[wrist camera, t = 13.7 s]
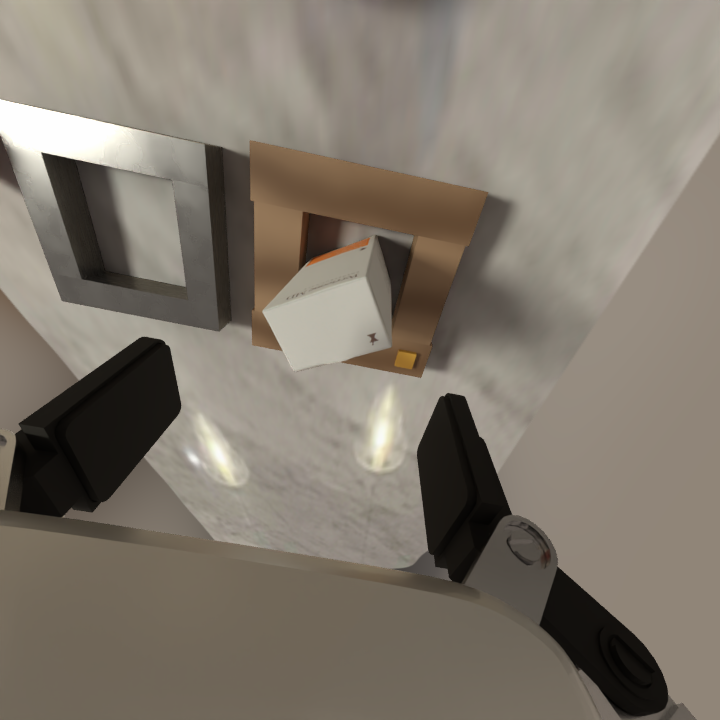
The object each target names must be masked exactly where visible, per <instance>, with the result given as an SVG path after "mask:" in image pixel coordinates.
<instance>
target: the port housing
mask: <svg viewBox="0 0 720 720" xmlns="http://www.w3.org/2000/svg"><path fill="white" fill-rule="evenodd" d="M487 195H488V192H484V191H480V190H475V189H471V188H466V187H461V186H457V185H452V184H448V183H443V182H439V181H434V180H429V179H425V178H420V177H416V176H411V175H407V174H402V173H397V172H393V171H388V170H384V169H379V168H375V167H370V166H365V165H361V164H356V163H352V162H347V161H342V160H338V159H333V158H329V157H324V156H320V155H315V154H310V153H306V152H301V151H297V150H292V149H288V148H283V147H278V146H274V145H269V144H265V143H260V142H256V141H251V140H250V200H251V201H254V281H255V308H254V309H253V310H252V345H255V346H260V347H265V348H270V349H275V350H280V351H283V350H282V348H281V346H280V345H279V343H278V341H277V339H276V337H275V335H274V333H273V331H272V329H271V327H270V325H269V323H268V321H267V320H266V318H265V316H264V314H263V312H262V311H263V309H264V308H265V307H266V306H267V305H268V304H269V303H270V302H271V301H272V300H273V299H274V298H275V297H276V296H277V294H278V293H279V292H280V291H281V290H282V289H283V288H284V287H285V286H286V285H287V284H288V283H289V282H290V281H291V279H292V278H293V277H294V276H295V275H296V274H297V273H298V272H299V271H300V270H301V269H302V268H303V267H304V266H305V263H306V251H307V239H308V227H309V216H310V213H313V214H317V215H322V216H327V217H332V218H336V219H341V220H346V221H350V222H355V223H360V224H365V225H369V226H374V227H379V228H384V229H388V230H393V231H398V232H403V233H407V234H412V235H414V238H413V242H412V246H411V250H410V254H409V257H408V261H407V265H406V269H405V273H404V276H403V280H402V284H401V288H400V291H399V295H398V299H397V303H396V307H395V310H394V314H393V318H392V347H391V348H388V349H384V350H380V351H376V352H372V353H368V354H365V355H361V356H357V357H354V358H351V359H349V360H346V361H342V363H348V364H353V365H358V366H363V367H368V368H373V369H378V370H384V371H389V372H394V373H399V374H404V375H409V376H415V377H420V378H421V377H422V374H423V371H424V368H425V366H426V363H427V360H428V357H429V355H430V352H431V349H432V342H431V341H432V338H433V335H434V332H435V330H436V327H437V324H438V321H439V318H440V316H441V313H442V310H443V307H444V304H445V302H446V299H447V296H448V293H449V290H450V288H451V285H452V282H453V279H454V276H455V274H456V271H457V268H458V265H459V262H460V260H461V257H462V254H463V251H464V248H465V246H469V244H470V242H471V239H472V236H473V233H474V231H475V228H476V225H477V222H478V220H479V217H480V214H481V211H482V208H483V206H484V203H485V200H486V197H487Z"/></svg>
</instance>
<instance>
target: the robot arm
mask: <svg viewBox="0 0 720 720" xmlns="http://www.w3.org/2000/svg"><path fill="white" fill-rule="evenodd" d="M180 410H181V401H180V396H179V391H178V386H177V381H176V376H175V371H174V366H173V361H172V356H171V351H170V347H169V346H167V345H166V344H165V342H164V341H163V340H160V339H154V338H149V337H141V338H139V339H138V340H136V341H135V342H133V343H132V344H130V345H129V346H128V347H126V348H125V349H123V350H122V351H121V352H119V353H118V354H116V355H115V356H114V357H112V358H111V359H109V360H108V361H106V362H105V363H104V364H102V365H101V366H99V367H98V368H97V369H95V370H94V371H92V372H91V373H89V374H88V375H87V376H85V377H84V378H82V379H81V380H80V381H78V382H77V383H75V384H74V385H73V386H71V387H70V388H68V389H67V390H65V391H64V392H63V393H62V394H60V395H59V396H57V397H56V398H54V399H53V400H51V401H50V402H49V403H47V404H46V405H44V406H43V407H41V408H40V409H39V410H37V411H36V412H34V413H33V414H32V415H30V416H29V417H28V418H26V419H24V420H23V421H22V422H20V423H19V425H20V427H21V430H20V431H19V432H17V433H16V434H13V433H12V432H11V431H9V430H5V429H0V720H696V719H695V717H694V716H693V715H692V714H691V713H690V711H689V710H688V709H687V708H686V707H685V705H684V704H683V703H680V704H675V702H674V701H673V700H672V699H671V698H670V696H669V695H668V690H667V685H666V683H665V680H664V676H663V674H662V672H661V670H660V668H659V666H658V664H657V663H656V661H655V659H654V657H653V656H652V655H651V653H650V652H649V651H648V649H647V648H646V647H645V646H644V644H643V643H642V642H641V641H640V640H639V639H638V638H637V637H636V636H635V635H634V634H633V633H632V632H631V631H629V630H628V629H627V628H626V627H625V626H624V625H623V624H622V623H621V622H619V621H618V620H617V619H616V618H615V617H614V616H612V615H611V614H610V613H609V612H608V611H607V610H606V609H605V608H604V607H603V606H601V605H600V604H599V603H598V602H597V601H596V600H595V599H594V598H592V597H591V596H590V595H589V594H588V593H587V592H586V591H584V590H583V589H582V588H581V587H580V586H579V585H578V584H577V583H575V582H574V581H573V580H572V579H571V578H570V577H569V576H568V575H566V574H565V573H564V572H563V571H562V570H561V569H560V568H558V567H557V565H558V558H557V554H556V550H555V548H554V546H553V544H552V543H551V541H550V539H549V538H548V537H547V535H546V534H545V533H544V532H543V531H542V530H541V529H540V528H539V527H538V526H537V525H536V524H534V523H533V522H531V521H530V520H528V519H526V518H523V517H521V516H518V515H512V513H511V511H510V508H509V505H508V503H507V500H506V497H505V495H504V492H503V489H502V486H501V484H500V481H499V479H498V476H497V473H496V470H495V467H494V465H493V462H492V459H491V457H490V454H489V451H488V449H487V446H486V443H485V441H484V439H482V438H481V437H479V434H478V432H477V429H476V426H475V423H474V420H473V418H472V415H471V412H470V409H469V406H468V404H467V401H466V398H465V397H464V396H461V395H456V394H451V393H447V394H446V395H445V397H444V396H441V397H440V398H439V400H438V402H437V405H436V407H435V409H434V412H433V414H432V416H431V419H430V421H429V423H428V425H427V428H426V430H425V432H424V435H423V437H422V439H421V442H420V444H419V446H418V450H417V459H418V468H419V476H420V484H421V493H422V501H423V510H424V518H425V527H426V535H427V543H428V550H429V553H430V554H431V555H434V559H435V566H436V567H440V568H446V569H448V574H449V578H450V579H451V580H452V581H448V580H444V579H439V578H435V577H430V576H426V575H420V574H415V573H409V572H404V571H398V570H393V569H387V568H382V567H376V566H370V565H364V564H358V563H352V562H346V561H340V560H333V559H327V558H321V557H315V556H309V555H303V554H296V553H290V552H284V551H278V550H271V549H265V548H259V547H252V546H246V545H240V544H233V543H227V542H220V541H214V540H208V539H201V538H194V537H188V536H182V535H176V534H169V533H162V532H156V531H148V530H143V529H136V528H129V527H122V526H116V525H110V524H103V523H96V522H89V521H83V520H76V519H69V518H64V515H65V513H67V511H68V510H69V509H70V508H71V507H72V508H73V509H74V510H80V511H86V512H93V511H94V510H95V509H96V508H97V506H98V505H99V504H100V503H101V502H104V501H106V500H108V499H109V498H110V497H111V495H113V493H114V492H115V491H116V489H117V488H118V487H119V486H120V485H121V483H122V482H123V481H124V480H125V479H126V478H127V476H128V475H129V474H130V473H131V471H132V470H133V469H134V468H135V467H136V465H137V464H138V463H139V462H140V460H141V459H142V458H143V457H144V456H145V454H146V453H147V452H148V451H149V450H150V448H151V447H152V446H153V445H154V443H155V442H156V441H157V440H158V439H159V437H160V436H161V435H162V434H163V433H164V431H165V430H166V429H167V428H168V426H169V425H170V424H171V423H172V422H173V420H174V419H175V418H176V417H177V416H178V414H179V412H180Z"/></svg>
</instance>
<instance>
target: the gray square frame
mask: <svg viewBox="0 0 720 720" xmlns="http://www.w3.org/2000/svg"><path fill="white" fill-rule="evenodd" d="M0 136H1V139H2V142H3V144H4V147H5V150H6V152H7V155H8V158H9V160H10V163H11V166H12V168H13V171H14V174H15V176H16V179H17V182H18V184H19V187H20V190H21V193H22V195H23V198H24V201H25V203H26V206H27V209H28V211H29V214H30V217H31V219H32V222H33V225H34V227H35V230H36V233H37V235H38V238H39V241H40V243H41V246H42V249H43V251H44V254H45V257H46V259H47V262H48V265H49V267H50V270H51V273H52V276H53V278H54V281H55V284H56V286H57V289H58V292H59V294H60V297H61V300H62V301H65V302H70V303H75V304H80V305H85V306H90V307H95V308H101V309H106V310H111V311H116V312H121V313H126V314H131V315H137V316H142V317H147V318H152V319H157V320H162V321H167V322H173V323H178V324H183V325H188V326H193V327H198V328H203V329H209V330H214V331H220V330H221V329H223V328H224V327H225V326H226V325H227V324H228V323H229V322H230V321H231V305H230V286H229V268H228V249H227V230H226V211H225V193H224V174H223V155H222V147H219V146H214V145H210V144H205V143H200V142H196V141H191V140H187V139H182V138H177V137H173V136H168V135H164V134H159V133H154V132H150V131H145V130H141V129H136V128H131V127H127V126H122V125H117V124H113V123H108V122H104V121H99V120H94V119H90V118H85V117H81V116H76V115H71V114H67V113H62V112H58V111H53V110H48V109H44V108H39V107H35V106H30V105H25V104H20V103H15V102H10V101H5V100H0ZM74 159H76V160H81V161H86V162H90V163H95V164H100V165H104V166H109V167H114V168H119V169H123V170H128V171H133V172H137V173H142V174H147V175H152V176H156V177H161V178H166V179H171V180H172V183H173V190H174V198H175V205H176V213H177V220H178V228H179V235H180V243H181V250H182V258H183V265H184V273H185V280H186V287H182V286H177V285H172V284H167V283H162V282H157V281H152V280H147V279H142V278H137V277H132V276H127V275H122V274H117V273H112V272H107V271H105V269H104V265H103V261H102V258H101V254H100V251H99V247H98V243H97V240H96V236H95V232H94V229H93V225H92V222H91V218H90V214H89V211H88V207H87V203H86V200H85V196H84V192H83V189H82V185H81V182H80V178H79V174H78V171H77V167H76V163H75V160H74Z"/></svg>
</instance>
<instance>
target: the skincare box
mask: <svg viewBox="0 0 720 720" xmlns="http://www.w3.org/2000/svg"><path fill="white" fill-rule="evenodd" d="M262 312H263V314H264V316H265V318H266V320H267V321H268V323H269V325H270V327H271V329H272V331H273V333H274V335H275V337H276V339H277V341H278V343H279V345H280V346H281V348H282V350H283V352H284V354H285V356H286V358H287V360H288V362H289V364H290V366H291V368H292V370H293V371H294V372H298V371H302V370H306V369H310V368H314V367H318V366H322V365H326V364H333V363H338V362H342V361H346V360H349V359H351V358H354V357H357V356H361V355H365V354H368V353H372V352H376V351H380V350H384V349H388V348H391V347H392V318H391V281H390V278H389V274H388V270H387V267H386V263H385V260H384V257H383V254H382V250H381V247H380V244H379V241H378V237H377V235H374V236H371V237H369V238H366V239H364V240H361V241H358V242H355V243H353V244H350V245H348V246H345V247H342V248H339V249H336V250H333V251H330V252H327V253H324V254H321V255H318V256H315V257H312V258H311V259H310V260H309V261H308V263H306V265H305V266H304V267H303V268H302V269H301V270H300V271H299V272H298V273H297V274H296V275H295V276H294V277H293V278H292V279H291V281H290V282H289V283H288V284H287V285H286V286H285V287H284V288H283V289H282V290H281V291H280V292H279V293H278V294H277V296H276V297H275V298H274V299H273V300H272V301H271V302H270V303H269V304H268V305H267V306H266V307H265V308H264V309H263V311H262Z"/></svg>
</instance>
